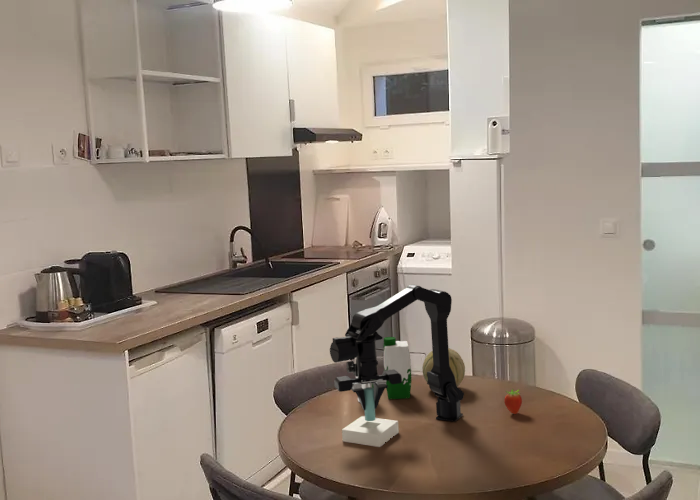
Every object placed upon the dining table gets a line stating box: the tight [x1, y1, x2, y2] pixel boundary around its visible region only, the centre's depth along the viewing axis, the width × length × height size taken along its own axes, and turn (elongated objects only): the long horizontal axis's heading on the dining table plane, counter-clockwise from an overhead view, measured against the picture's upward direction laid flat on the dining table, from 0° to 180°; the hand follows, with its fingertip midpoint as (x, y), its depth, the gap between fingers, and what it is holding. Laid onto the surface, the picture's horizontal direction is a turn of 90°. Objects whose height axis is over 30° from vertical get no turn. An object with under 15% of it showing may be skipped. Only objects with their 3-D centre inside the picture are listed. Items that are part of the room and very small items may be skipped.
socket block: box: [341, 415, 400, 448], centre depth 215 cm, size 12×12×4 cm
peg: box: [364, 387, 376, 421], centre depth 214 cm, size 3×3×9 cm
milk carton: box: [382, 336, 412, 400], centre depth 250 cm, size 9×9×20 cm
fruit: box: [503, 389, 523, 415], centre depth 227 cm, size 5×5×8 cm
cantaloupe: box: [422, 347, 466, 388], centre depth 254 cm, size 15×15×15 cm
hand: (369, 409), depth 214 cm, fingers closed on peg, 3 cm apart
